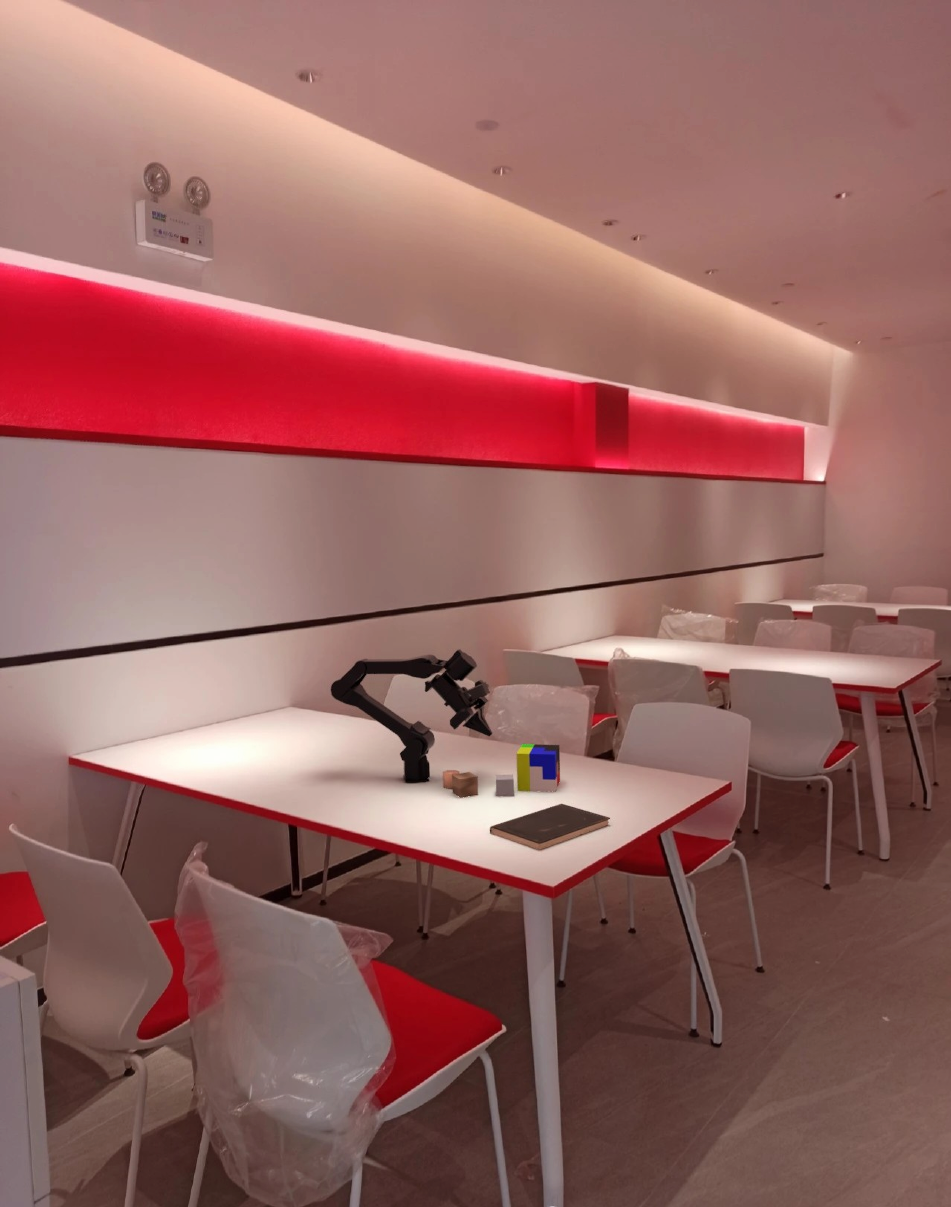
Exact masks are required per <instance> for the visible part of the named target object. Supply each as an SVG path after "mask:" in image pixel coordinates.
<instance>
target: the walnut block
mask: <svg viewBox="0 0 951 1207" xmlns="http://www.w3.org/2000/svg"><path fill="white" fill-rule="evenodd" d="M478 781H479V779H478V776H477V775H476V774H474V773H472V772H471V771H466V772H459V774H453V775H452V789H451V790H452V794H453V795H455V796H456V797H458V796H459V797H458V798H459V799H462V798H463V797H464V798H468V796H470V797H475V796H479V782H478ZM464 798H463V799H464Z"/></svg>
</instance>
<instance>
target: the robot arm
mask: <svg viewBox="0 0 951 1207" xmlns="http://www.w3.org/2000/svg"><path fill="white" fill-rule="evenodd" d="M477 667H478V665H477V662H476V660H475V659H474V658H473V657H472V656H470V655H469V654H467V653H466V652H464V651H462V650H461V649H457V650H456V651H455V652H454V653H453V655H451V657H450V658H449V659H448V660H445V659H439V658H437V657H436V655H434V654H424V655H419V656H415V657H414V656H413V657H410V658H402V659H401V658H396V659H395V658H393V659H391V658H389V659H380V658H379V659H377V658H376V659H372V658H371V659H368V658H362V659H360V660H358V661H355V663H354V664H353V665H352V667H351V668H350V669H349V670H348V671H347V672H346V673H345V674H344V675H342V676H341V678H339V679H337V680H335V681H333V682H332V684H331V686H330V693H331V694H330V695H331V696H332V697H333V699H334V700H336V701H338V702H341V703H343V704H345V705H349V706H352V707H356V708H358V709H359V710H361V711H362V712H364V713H365V714H366V715H368V716H369V717H370V718H372V719H373V720H375V721H376V722H377V723H379V724H381V725H382V726H383V727H385V728H386V729H388V730H389V731H391V732H392V733H393V734H395V735H396V736H397V737H398V738H399V740H400V742H401V743H402V745H403V746H404V747H405V748H403V749H402V750H401V751H400V752H399V756H400V758H401V761H403V775H402V777H403V780H404V783H419V782H429V781H430V777H431V770H430V768H431V767H430V761H429V760H428V757H427V755H429V752H430V749H431V748H432V747H434V744H435V741H436V739H435V734H434V733H433V732H432V731H431V727H428V726H426V725H425V724H424V723H422V721H420V720H417V721H416V722H414V723H411V722H408V721H407V720H406V719H404V718H403V717H401V716H400V715H399V714H397V713H395V712H394V711H393V710H391V709H390V708H388V707H387V706H385V705H384V704H382V703H381V702H379V700H376V698H374V697H372V696H371V695H369V694H368V692H367V691H366V689H365V688H364V686H363V685H362V682H363V681H364V680H365V678H366V677H367V675H405V676H408V677H412V678H417V679H423V680H425V679H429V678H430V677H432V676H434V677H432V679H431V680H426V681H425V682H424V685H425V686H424V692H425V693H427V692H429V691H431V690H432V689H433V690H434V691H435V692H436V694H438V695H439V697H440V698H441V699H442V700H443V701H444V704H443V705H444V706H445V708H447V707H449V708H451V709H452V711H453V712H454V713H455V714H454V715H453V716H452V717H451V718H450V719H449V725H450V726H451V728H452V729H453V730H454V731H455V730H457V729H458V728H459V727H460V725H461V724H463V725H462V727H464V728H467V729H470V730H473V731H475V732H478V733H480V734H483V735H485V736H486V737H487V736H488V737H491V736H492V735H493V731H492V730H491V727H490V726H489V724H488V722H487V720H486V718H485V715H484V712H485V711H484V709H485V705H486V704H487V703H488V702H489V700H488V698H487V697H486V696H488V694H490V693H491V691H490V690H489V686H490V685H489V684H488V683H487V681H483V680H482V679H479V680H478V681H477V680H476V681H475V683H474V687H471V688H469V689H468V688H467V687H466V686H462V687H461V686H460V685H459V683H457V681H460V682H463V681H464V680H465V679H466V678H467V677H468V676H469V675H470V674H471V673H472V672H474V670H475V669H476V668H477ZM442 671H443V672H442ZM440 672H442V674H440ZM437 673H438V674H437ZM463 722H465V723H463Z"/></svg>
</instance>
